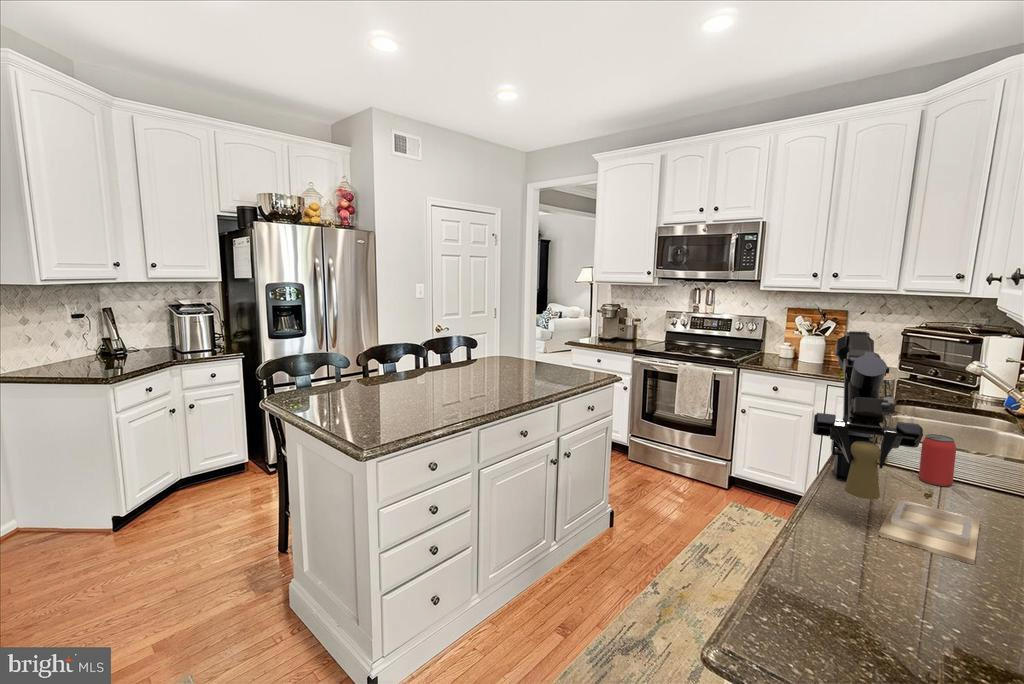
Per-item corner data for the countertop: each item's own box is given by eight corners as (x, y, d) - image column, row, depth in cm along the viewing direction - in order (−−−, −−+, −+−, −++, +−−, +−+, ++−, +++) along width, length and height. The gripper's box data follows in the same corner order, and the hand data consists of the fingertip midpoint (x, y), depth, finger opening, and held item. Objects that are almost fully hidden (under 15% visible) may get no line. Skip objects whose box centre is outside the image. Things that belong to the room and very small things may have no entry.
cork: (866, 486, 104) (870, 438, 103) (886, 499, 98) (891, 448, 97) (838, 486, 104) (842, 438, 103) (856, 499, 98) (861, 447, 97)
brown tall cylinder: (892, 465, 135) (900, 378, 132) (865, 463, 136) (872, 377, 134) (879, 457, 141) (887, 374, 139) (853, 455, 143) (860, 373, 140)
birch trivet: (878, 536, 96) (878, 531, 96) (896, 502, 111) (896, 498, 111) (974, 565, 86) (974, 559, 86) (979, 523, 101) (980, 519, 101)
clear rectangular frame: (890, 524, 99) (891, 518, 99) (899, 507, 107) (900, 500, 107) (967, 546, 91) (968, 539, 90) (971, 525, 99) (971, 518, 98)
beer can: (918, 475, 128) (922, 431, 126) (951, 481, 124) (956, 436, 122) (918, 482, 123) (923, 437, 121) (953, 489, 119) (958, 443, 117)
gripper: (817, 377, 106) (814, 439, 98) (925, 386, 97) (932, 455, 89) (814, 404, 114) (811, 463, 106) (914, 414, 104) (920, 480, 96)
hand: (865, 465), depth 99 cm, fingers closed on cork, 5 cm apart
